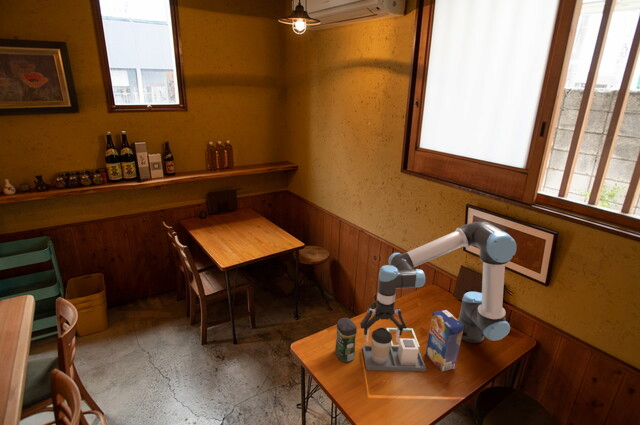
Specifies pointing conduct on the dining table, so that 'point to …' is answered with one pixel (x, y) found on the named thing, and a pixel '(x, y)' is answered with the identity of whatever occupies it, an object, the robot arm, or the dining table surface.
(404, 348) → the white box
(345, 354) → the coffee jar
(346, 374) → the dining table surface
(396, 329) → the square frame
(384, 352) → the coffee cup
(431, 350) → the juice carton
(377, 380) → the dining table surface
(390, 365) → the divided tray
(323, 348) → the dining table surface
